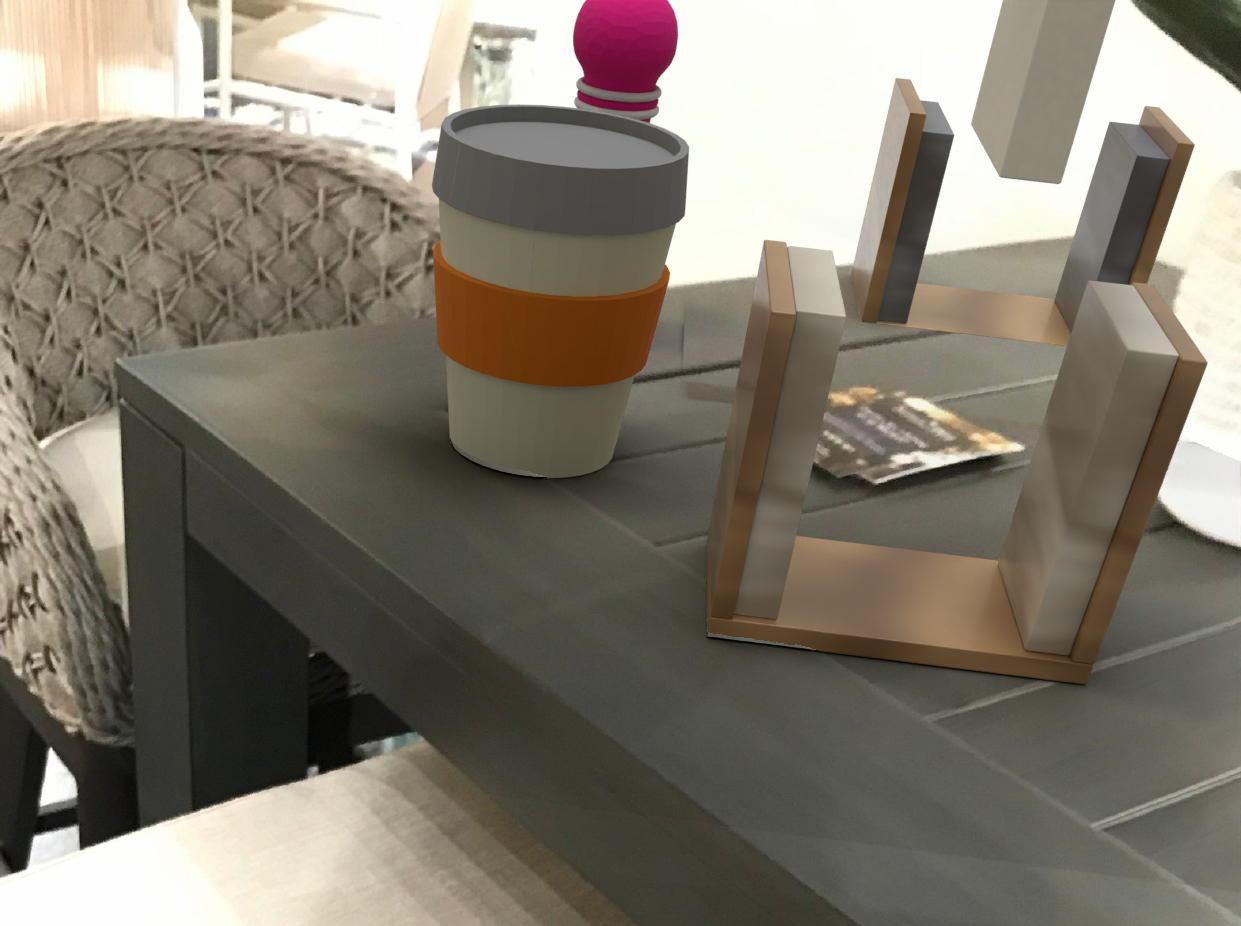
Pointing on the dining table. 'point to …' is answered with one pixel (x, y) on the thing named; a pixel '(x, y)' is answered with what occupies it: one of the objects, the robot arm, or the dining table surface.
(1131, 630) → the dining table surface
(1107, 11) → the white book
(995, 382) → the dining table surface
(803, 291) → the white rack
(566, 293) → the reusable coffee cup
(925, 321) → the grey rack
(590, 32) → the pepper mill
